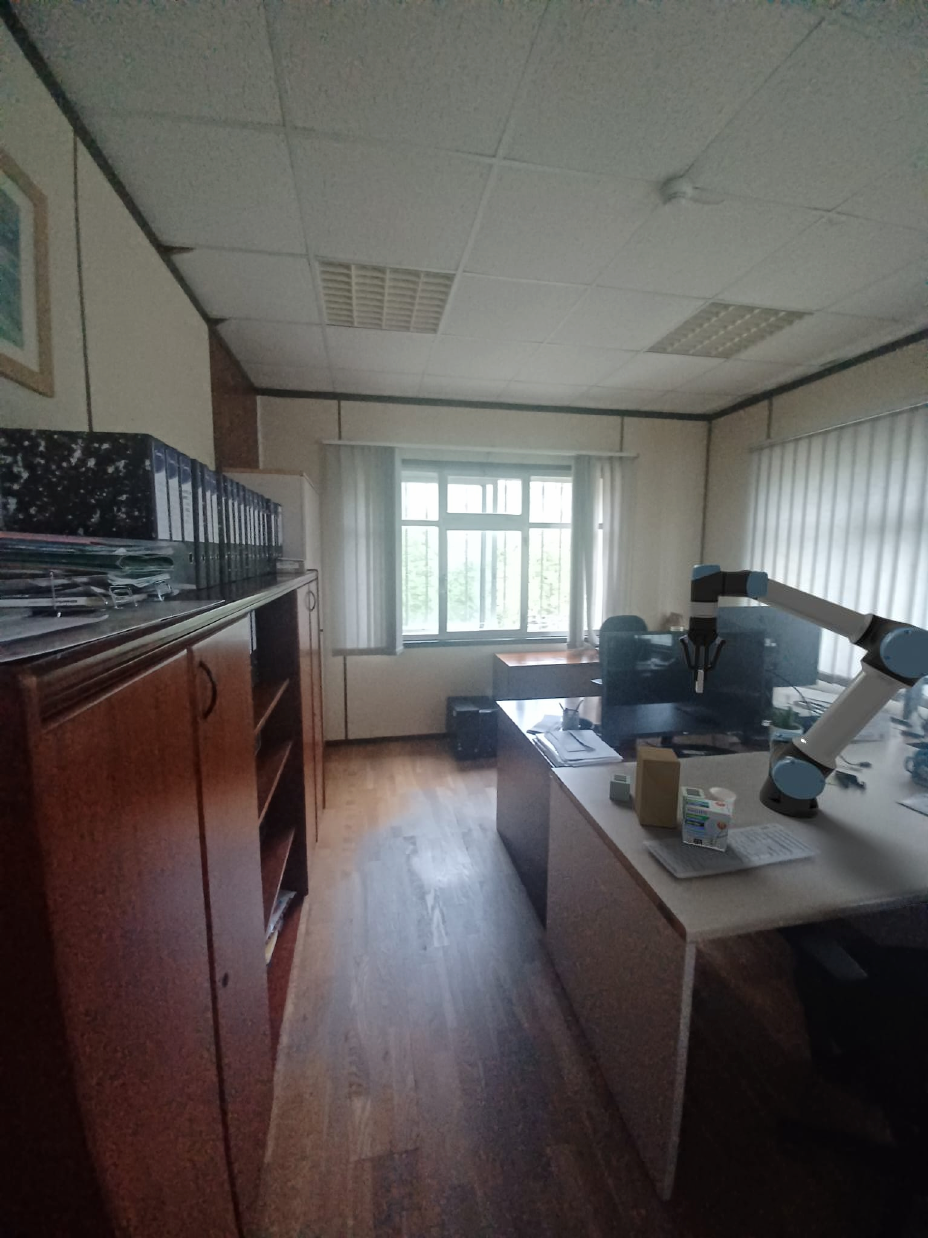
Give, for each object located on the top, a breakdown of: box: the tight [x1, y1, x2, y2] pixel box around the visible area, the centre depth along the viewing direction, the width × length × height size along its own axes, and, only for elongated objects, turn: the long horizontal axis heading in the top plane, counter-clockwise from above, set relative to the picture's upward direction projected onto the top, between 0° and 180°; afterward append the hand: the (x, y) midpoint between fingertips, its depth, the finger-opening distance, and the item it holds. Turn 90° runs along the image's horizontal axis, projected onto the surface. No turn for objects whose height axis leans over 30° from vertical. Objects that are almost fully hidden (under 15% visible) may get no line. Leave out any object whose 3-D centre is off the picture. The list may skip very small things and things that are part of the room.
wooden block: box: [633, 745, 681, 829], centre depth 136 cm, size 10×10×20 cm
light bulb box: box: [681, 796, 730, 850], centre depth 125 cm, size 11×7×11 cm, turn 68°
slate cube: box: [609, 772, 631, 802], centre depth 149 cm, size 6×6×6 cm
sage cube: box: [679, 785, 706, 815], centre depth 140 cm, size 6×6×6 cm
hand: (699, 691), depth 142 cm, fingers closed
